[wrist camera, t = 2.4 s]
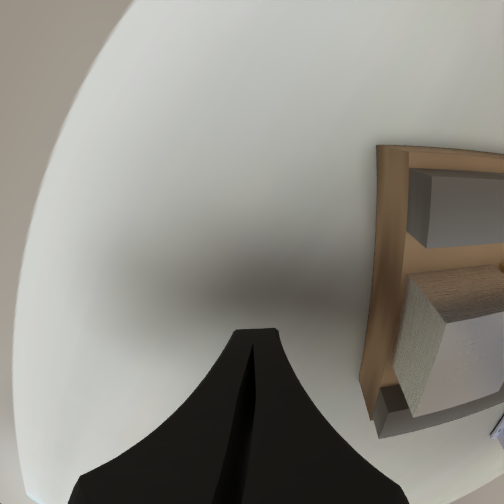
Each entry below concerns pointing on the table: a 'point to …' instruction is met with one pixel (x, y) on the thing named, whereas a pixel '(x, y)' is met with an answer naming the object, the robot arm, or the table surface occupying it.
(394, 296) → the slot block
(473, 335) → the grey block
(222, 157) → the table surface
